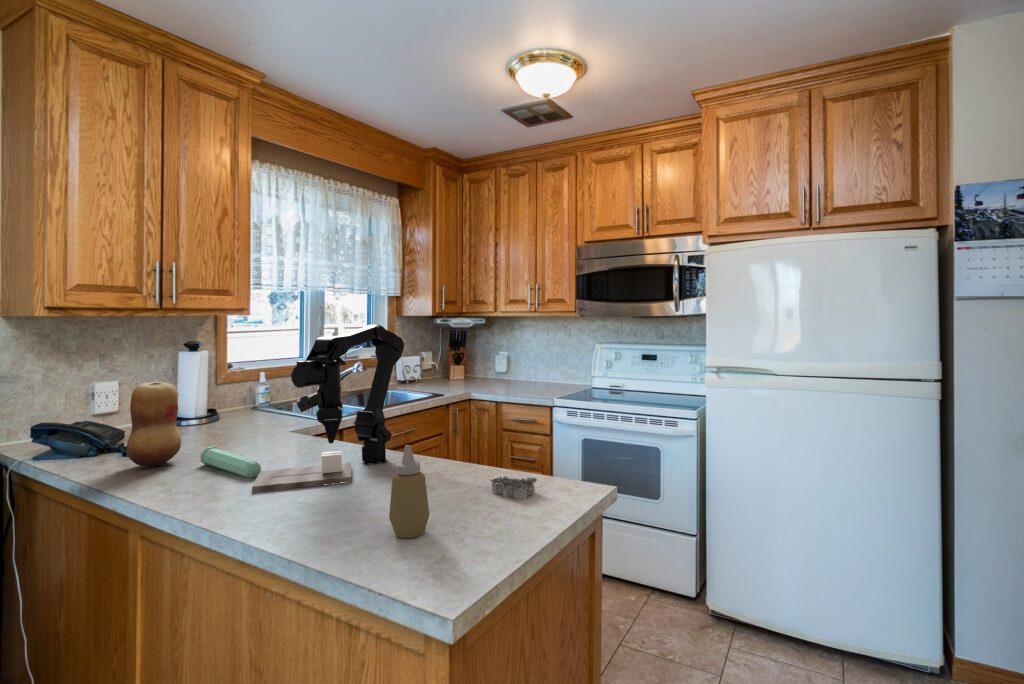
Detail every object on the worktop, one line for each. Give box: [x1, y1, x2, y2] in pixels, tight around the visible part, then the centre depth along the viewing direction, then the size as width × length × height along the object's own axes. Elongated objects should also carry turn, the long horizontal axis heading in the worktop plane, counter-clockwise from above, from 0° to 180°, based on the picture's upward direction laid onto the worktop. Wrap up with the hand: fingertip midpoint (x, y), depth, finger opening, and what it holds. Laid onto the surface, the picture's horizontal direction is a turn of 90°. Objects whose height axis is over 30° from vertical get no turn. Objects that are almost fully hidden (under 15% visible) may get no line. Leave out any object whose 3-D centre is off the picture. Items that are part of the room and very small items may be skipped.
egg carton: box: [488, 475, 538, 501], centre depth 130 cm, size 11×8×4 cm
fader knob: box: [321, 450, 343, 473], centre depth 145 cm, size 5×4×5 cm
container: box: [199, 445, 262, 479], centre depth 152 cm, size 6×6×25 cm
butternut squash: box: [126, 381, 182, 467], centre depth 158 cm, size 14×13×25 cm
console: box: [251, 462, 352, 493], centre depth 143 cm, size 24×14×2 cm, turn 107°
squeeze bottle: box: [388, 444, 430, 539], centre depth 106 cm, size 8×8×18 cm
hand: (331, 439), depth 144 cm, fingers open, 9 cm apart
